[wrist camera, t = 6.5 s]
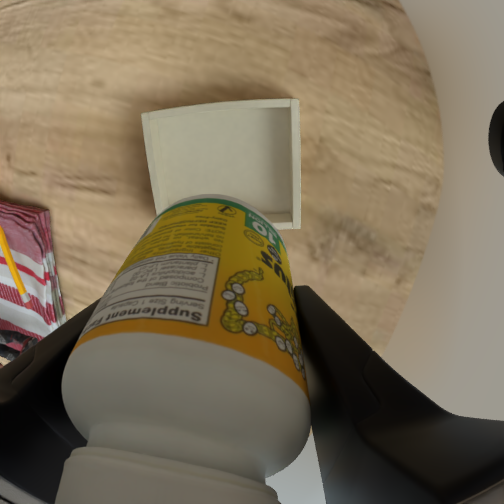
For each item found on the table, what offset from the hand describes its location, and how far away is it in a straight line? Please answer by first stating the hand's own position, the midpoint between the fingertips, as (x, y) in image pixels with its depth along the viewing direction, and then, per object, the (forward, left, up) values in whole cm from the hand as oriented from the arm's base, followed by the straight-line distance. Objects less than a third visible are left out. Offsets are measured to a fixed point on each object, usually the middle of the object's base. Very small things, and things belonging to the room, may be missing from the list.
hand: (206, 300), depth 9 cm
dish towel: (+26, +9, -12) cm, 30 cm away
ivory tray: (0, -1, -12) cm, 12 cm away
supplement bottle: (0, 0, -3) cm, 3 cm away
